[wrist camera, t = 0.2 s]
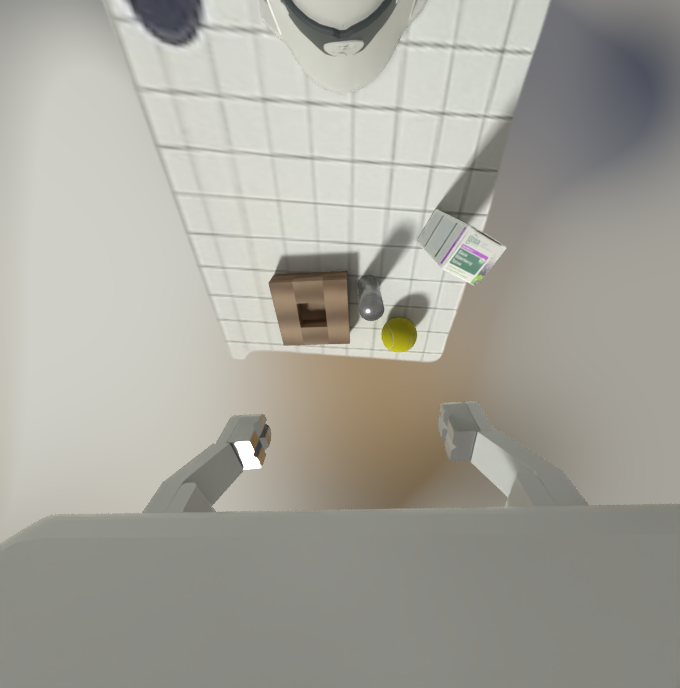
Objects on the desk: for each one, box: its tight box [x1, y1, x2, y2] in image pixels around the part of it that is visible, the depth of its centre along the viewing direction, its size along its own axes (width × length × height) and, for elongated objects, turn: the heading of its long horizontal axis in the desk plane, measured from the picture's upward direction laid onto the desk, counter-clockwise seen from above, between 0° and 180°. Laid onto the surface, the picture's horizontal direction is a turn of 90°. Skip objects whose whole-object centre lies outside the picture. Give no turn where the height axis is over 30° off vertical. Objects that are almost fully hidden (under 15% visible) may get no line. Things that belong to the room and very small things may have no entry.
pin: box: [358, 275, 384, 321], centre depth 44 cm, size 4×4×10 cm
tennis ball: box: [382, 318, 417, 352], centre depth 51 cm, size 7×7×7 cm
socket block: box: [269, 271, 350, 345], centre depth 50 cm, size 14×14×4 cm
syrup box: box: [417, 209, 507, 286], centre depth 36 cm, size 6×6×14 cm
